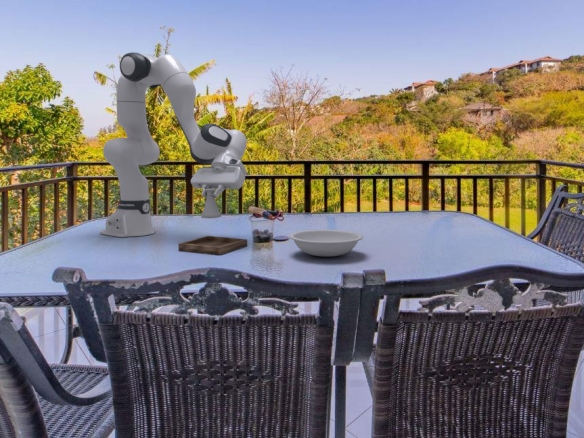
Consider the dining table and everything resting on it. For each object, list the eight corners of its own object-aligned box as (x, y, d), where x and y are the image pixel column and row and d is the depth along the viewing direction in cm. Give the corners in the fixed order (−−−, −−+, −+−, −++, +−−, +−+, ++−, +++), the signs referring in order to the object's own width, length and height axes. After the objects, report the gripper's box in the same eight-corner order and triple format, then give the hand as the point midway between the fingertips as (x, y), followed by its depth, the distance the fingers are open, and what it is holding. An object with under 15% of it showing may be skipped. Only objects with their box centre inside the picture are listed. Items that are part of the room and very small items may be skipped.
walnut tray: (178, 250, 165) (178, 243, 165) (208, 242, 180) (207, 235, 180) (220, 255, 158) (220, 247, 158) (247, 246, 173) (247, 239, 173)
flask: (218, 218, 166) (217, 189, 165) (198, 219, 167) (196, 190, 166) (224, 215, 173) (222, 188, 172) (204, 216, 174) (203, 188, 173)
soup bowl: (342, 267, 141) (343, 244, 141) (274, 258, 154) (274, 237, 153) (374, 252, 162) (374, 233, 161) (311, 245, 174) (311, 227, 173)
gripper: (196, 161, 178) (180, 189, 171) (244, 160, 169) (229, 190, 162) (204, 172, 183) (189, 201, 175) (251, 172, 174) (237, 202, 166)
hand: (209, 196), depth 168 cm, fingers closed on flask, 3 cm apart
